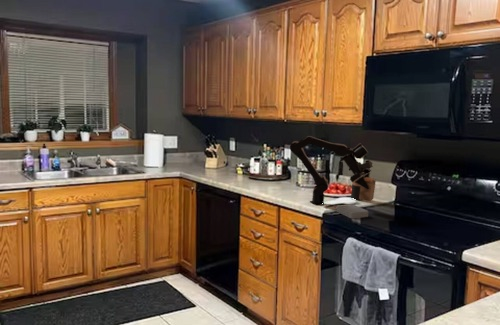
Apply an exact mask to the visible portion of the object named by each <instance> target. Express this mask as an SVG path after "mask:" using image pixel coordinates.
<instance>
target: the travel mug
mask: <svg viewBox="0 0 500 325" xmlns="http://www.w3.org/2000/svg"><path fill="white" fill-rule="evenodd" d="M353 175H354V174H353V173H352V176H353ZM355 181H356V180H355ZM355 181H354V182H351V191H350V192H351V193H350V194H351V195H350V199H351V198H354V199H356V200H355V201H362V200H361V199H359V194H360V187H361V185H359V184H357V183H355Z"/></svg>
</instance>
